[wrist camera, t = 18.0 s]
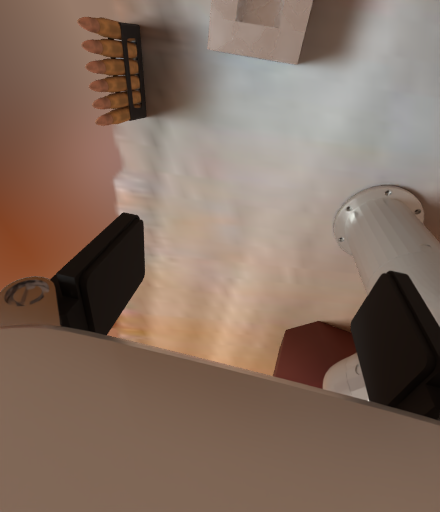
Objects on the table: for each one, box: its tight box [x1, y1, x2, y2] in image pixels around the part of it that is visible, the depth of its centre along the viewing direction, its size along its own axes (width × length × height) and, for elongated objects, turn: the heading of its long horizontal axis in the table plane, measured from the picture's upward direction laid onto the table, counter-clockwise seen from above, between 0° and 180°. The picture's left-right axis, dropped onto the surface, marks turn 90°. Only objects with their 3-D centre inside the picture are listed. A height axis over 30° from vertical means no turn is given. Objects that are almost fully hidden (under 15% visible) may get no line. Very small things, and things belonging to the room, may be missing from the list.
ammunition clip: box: [77, 17, 146, 126], centre depth 34 cm, size 11×2×12 cm, turn 176°
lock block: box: [207, 0, 313, 65], centre depth 29 cm, size 10×10×6 cm
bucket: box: [273, 321, 357, 389], centre depth 53 cm, size 24×22×25 cm
